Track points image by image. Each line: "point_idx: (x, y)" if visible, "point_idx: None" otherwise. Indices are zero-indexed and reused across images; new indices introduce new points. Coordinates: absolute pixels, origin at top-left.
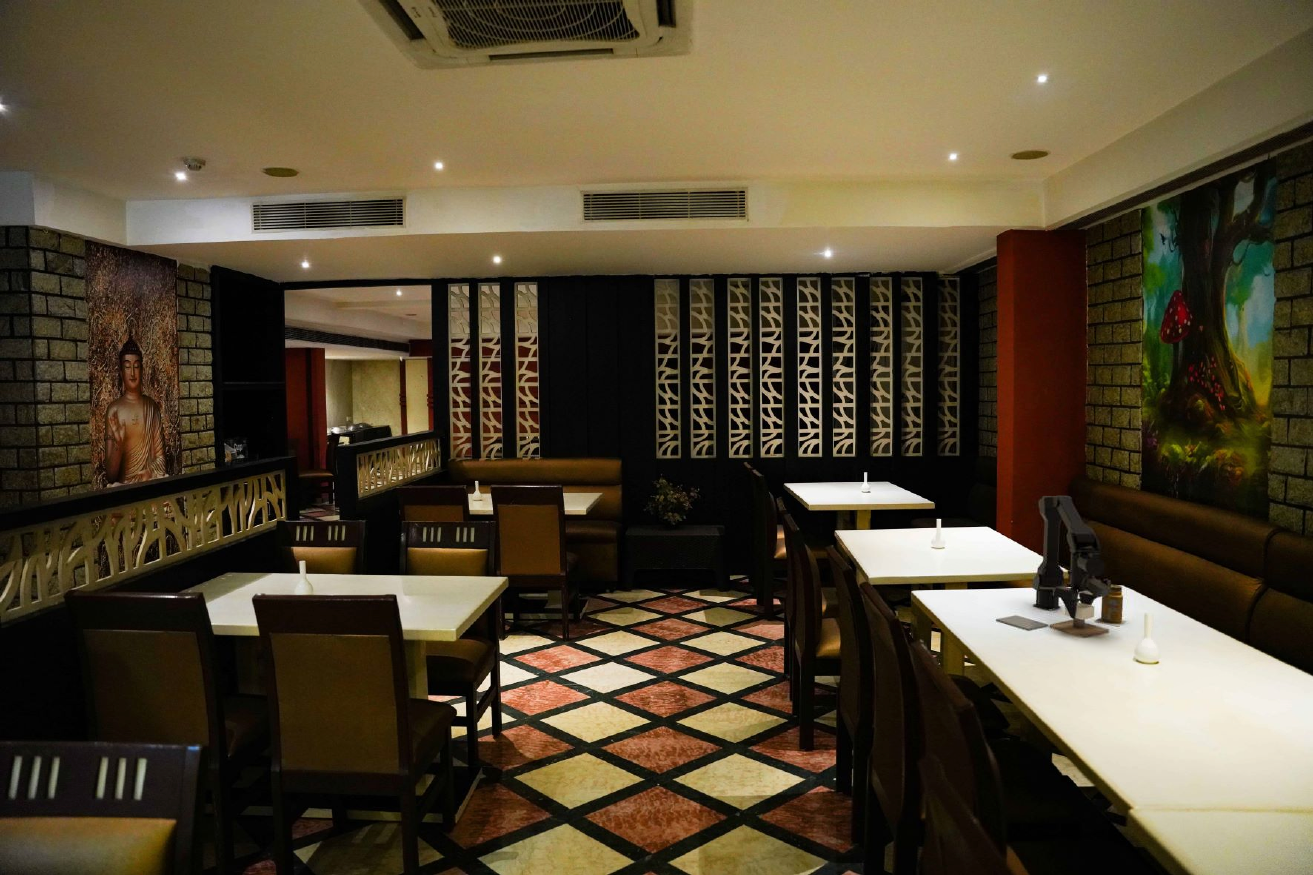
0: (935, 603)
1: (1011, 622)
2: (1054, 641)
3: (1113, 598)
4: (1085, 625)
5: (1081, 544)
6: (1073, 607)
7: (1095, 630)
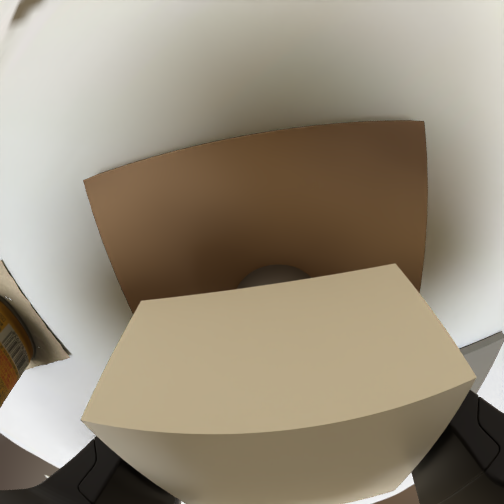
0: (403, 486)
1: None
2: None
3: None
4: None
5: None
6: (496, 414)
7: (219, 179)
